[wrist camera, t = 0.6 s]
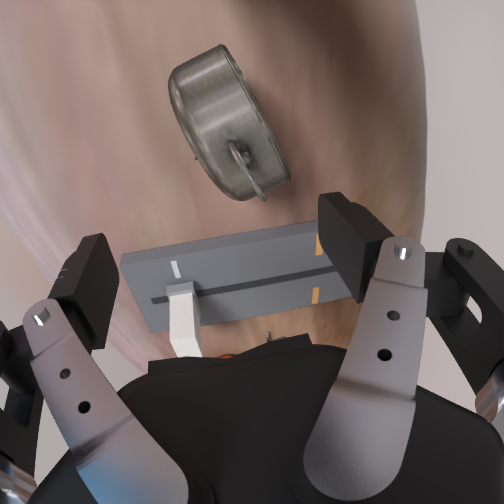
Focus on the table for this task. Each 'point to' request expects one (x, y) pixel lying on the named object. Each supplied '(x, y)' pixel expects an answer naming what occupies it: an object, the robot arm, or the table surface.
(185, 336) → the fader
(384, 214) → the table surface
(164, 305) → the console
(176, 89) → the alarm clock
